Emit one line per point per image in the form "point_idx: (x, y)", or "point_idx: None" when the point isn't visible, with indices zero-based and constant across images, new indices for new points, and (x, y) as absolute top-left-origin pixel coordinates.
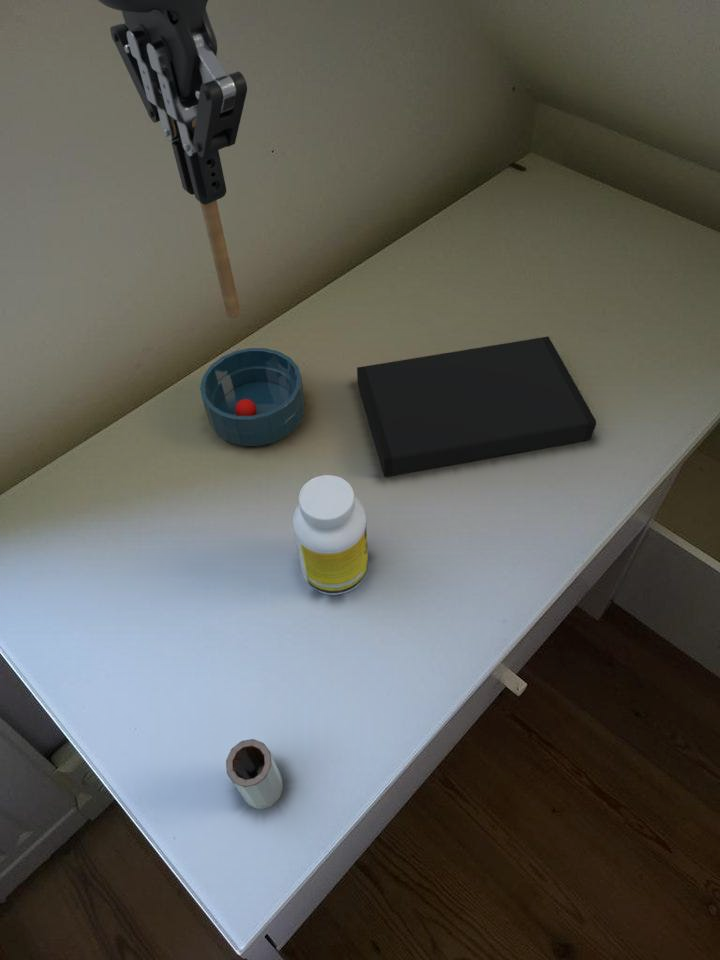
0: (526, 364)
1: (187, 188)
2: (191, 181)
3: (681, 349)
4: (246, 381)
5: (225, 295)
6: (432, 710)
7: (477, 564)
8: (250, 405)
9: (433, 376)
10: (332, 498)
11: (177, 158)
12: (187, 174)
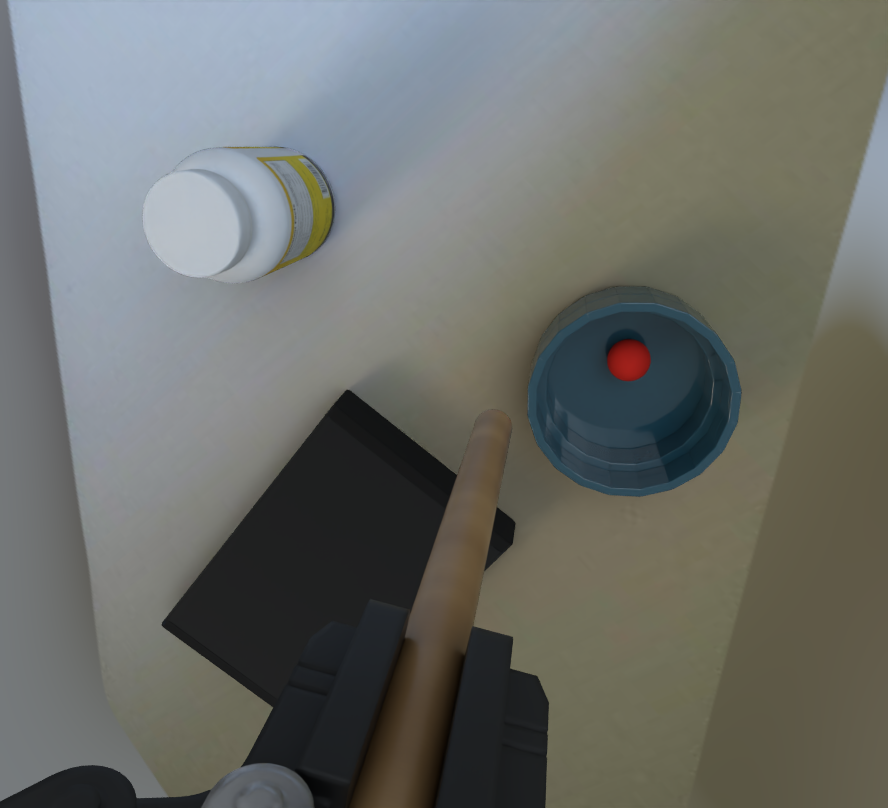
0: None
1: (470, 640)
2: (387, 662)
3: (197, 787)
4: (689, 419)
5: (477, 437)
6: (37, 113)
7: (149, 342)
8: (617, 369)
9: (392, 589)
10: (179, 229)
11: (470, 749)
12: (457, 696)
